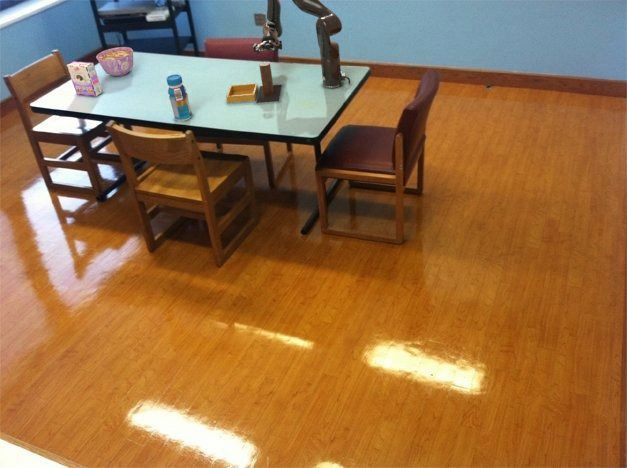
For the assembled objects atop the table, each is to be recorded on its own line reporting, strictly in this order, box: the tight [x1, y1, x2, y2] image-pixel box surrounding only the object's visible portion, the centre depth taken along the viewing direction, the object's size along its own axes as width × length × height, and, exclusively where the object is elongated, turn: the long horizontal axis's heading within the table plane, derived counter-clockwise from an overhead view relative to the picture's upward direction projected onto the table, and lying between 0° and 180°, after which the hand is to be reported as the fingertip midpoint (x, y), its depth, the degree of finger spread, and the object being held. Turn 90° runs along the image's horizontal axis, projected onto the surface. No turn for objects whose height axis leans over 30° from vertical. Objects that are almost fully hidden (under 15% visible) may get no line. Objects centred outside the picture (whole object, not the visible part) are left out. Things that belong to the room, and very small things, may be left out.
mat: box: [255, 84, 283, 104], centre depth 293 cm, size 11×20×1 cm, turn 178°
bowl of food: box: [95, 46, 134, 77], centre depth 333 cm, size 20×20×12 cm
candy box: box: [66, 61, 104, 98], centre depth 312 cm, size 14×6×16 cm, turn 65°
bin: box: [226, 82, 259, 103], centre depth 293 cm, size 14×14×4 cm
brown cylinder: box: [258, 61, 274, 96], centre depth 289 cm, size 5×5×15 cm
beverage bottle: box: [166, 73, 193, 122], centre depth 276 cm, size 8×8×20 cm
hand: (266, 51), depth 292 cm, fingers open, 8 cm apart
